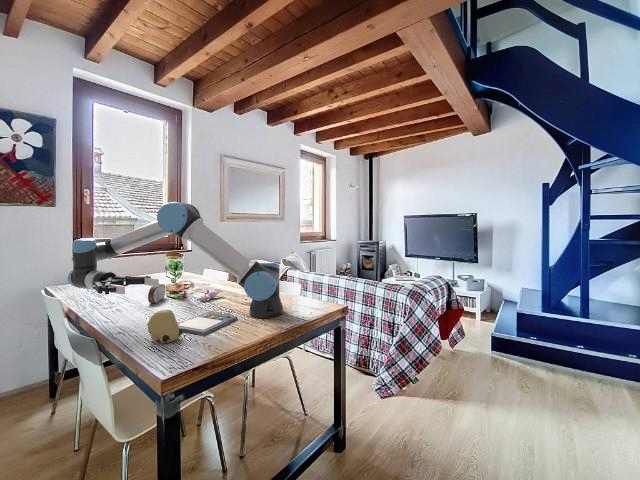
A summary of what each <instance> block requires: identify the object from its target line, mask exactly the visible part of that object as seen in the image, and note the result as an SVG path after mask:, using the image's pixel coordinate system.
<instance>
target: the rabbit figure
mask: <svg viewBox="0 0 640 480" xmlns="http://www.w3.org/2000/svg"><path fill="white" fill-rule="evenodd" d="M222 292H223V291H222V290H218V289H217V290H211V291H210V290H209V289H206V292H204V294H203V295H202V296H200V297H198V298H197V300H196V302H199V301H200V303H202V302H203V303H204V302H206V301H207V300H209V299H210V300H213V299H215V297H217V295H218V294H220V293H222Z"/></svg>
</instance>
